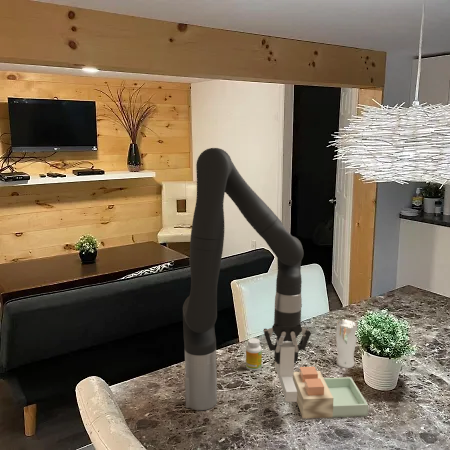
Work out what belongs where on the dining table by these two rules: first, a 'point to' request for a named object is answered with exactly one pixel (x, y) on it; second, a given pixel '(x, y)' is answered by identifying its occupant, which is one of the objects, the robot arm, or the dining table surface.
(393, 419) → the dining table surface
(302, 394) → the tan block
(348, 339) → the beer glass
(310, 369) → the tile back
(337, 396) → the box
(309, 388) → the tile front
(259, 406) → the dining table surface
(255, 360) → the supplement bottle
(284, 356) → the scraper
